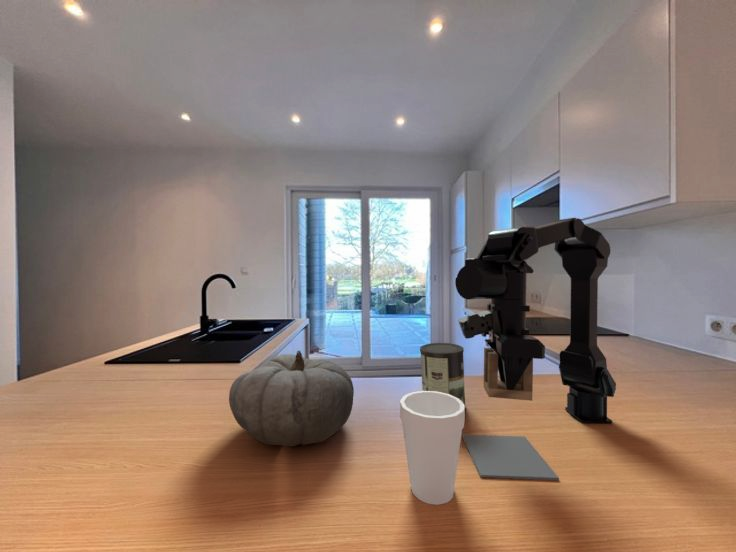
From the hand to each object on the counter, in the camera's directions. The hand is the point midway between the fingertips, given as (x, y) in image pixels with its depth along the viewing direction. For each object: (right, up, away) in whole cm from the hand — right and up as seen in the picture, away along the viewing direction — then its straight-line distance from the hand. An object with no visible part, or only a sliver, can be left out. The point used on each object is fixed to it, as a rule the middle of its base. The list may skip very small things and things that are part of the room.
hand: (506, 385), depth 55 cm
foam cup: (-15, -13, -9) cm, 22 cm away
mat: (-1, -12, -1) cm, 12 cm away
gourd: (-40, -13, +9) cm, 43 cm away
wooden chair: (0, -2, 0) cm, 2 cm away
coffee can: (-7, -12, +19) cm, 24 cm away
